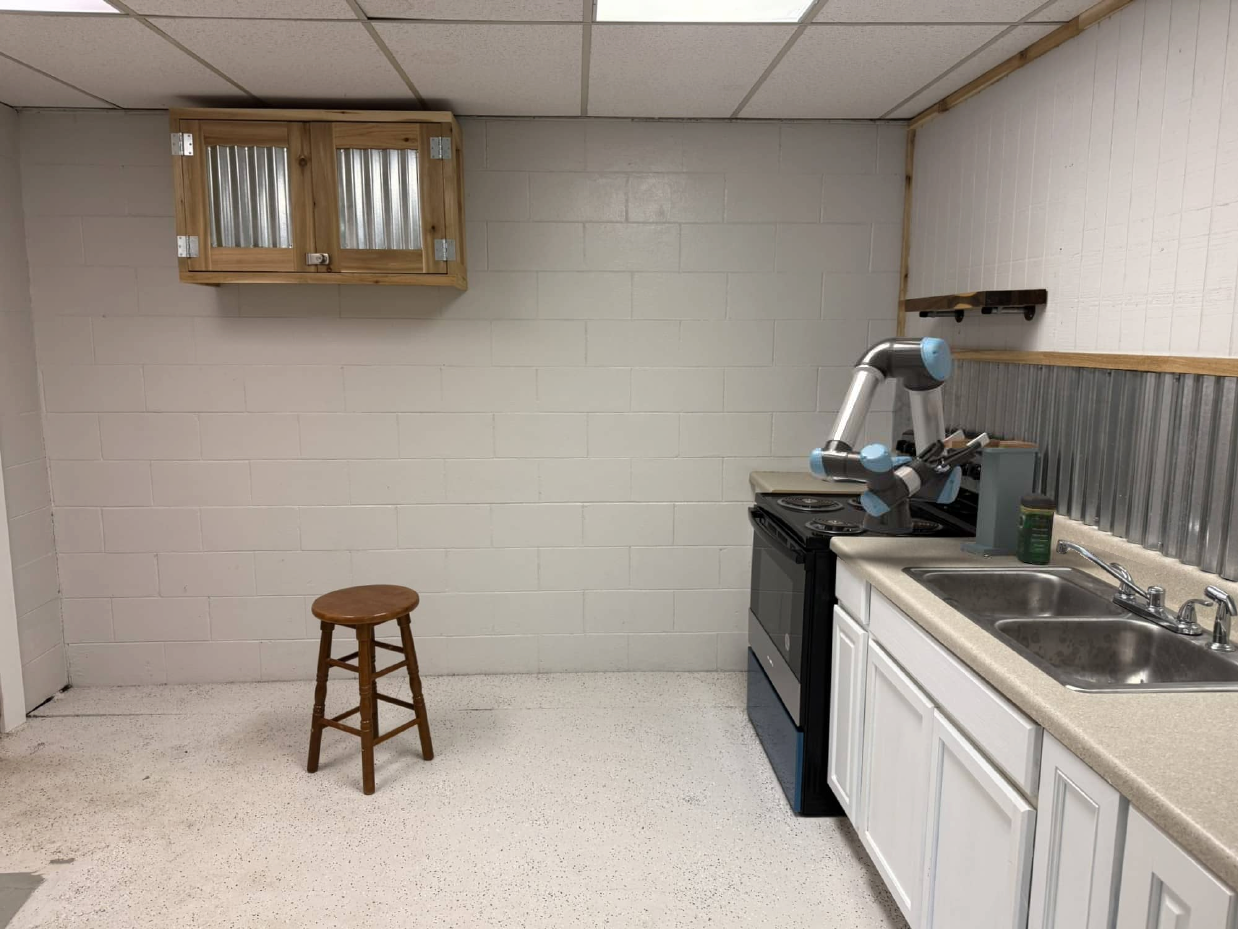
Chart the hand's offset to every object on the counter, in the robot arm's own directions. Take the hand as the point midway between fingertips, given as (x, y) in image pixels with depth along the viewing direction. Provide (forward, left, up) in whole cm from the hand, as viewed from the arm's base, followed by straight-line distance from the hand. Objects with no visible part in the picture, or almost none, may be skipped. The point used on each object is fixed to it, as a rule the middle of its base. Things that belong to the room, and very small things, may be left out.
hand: (974, 435), depth 236 cm
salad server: (0, +5, -3) cm, 6 cm away
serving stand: (0, +10, -33) cm, 35 cm away
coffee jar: (+12, +12, -33) cm, 38 cm away
